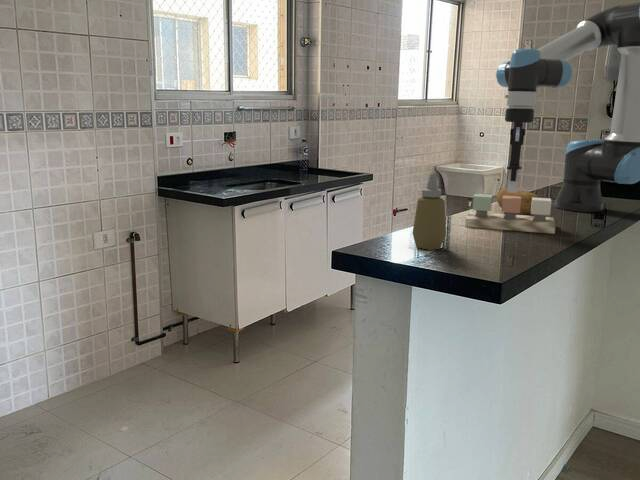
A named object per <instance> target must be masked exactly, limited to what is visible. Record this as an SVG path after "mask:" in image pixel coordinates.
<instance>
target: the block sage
mask: <svg viewBox="0 0 640 480" xmlns="http://www.w3.org/2000/svg"><path fill="white" fill-rule="evenodd" d="M492 204H493V194H483V193H475V194H473V199H472V210H473V211H475V212H476V217H487V213H488V212H491V210H492Z"/></svg>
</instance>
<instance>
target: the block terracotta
mask: <svg viewBox="0 0 640 480" xmlns="http://www.w3.org/2000/svg"><path fill="white" fill-rule="evenodd" d="M520 206H521V197H517V196H503V200H502V208H501V213H504V214H505V219H516V213H520Z"/></svg>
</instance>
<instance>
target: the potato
mask: <svg viewBox="0 0 640 480" xmlns="http://www.w3.org/2000/svg"><path fill="white" fill-rule="evenodd" d="M503 196H517V197H521V206H520V213H516V215H526V216H529V215H530V214H531V204H532V197H534V198H541V197H540V196H539V195H537V194H536V193H533V192H528V191H524V190H521V189H517V193H511V192H507V188H503V189H501V190H499V191H498V192H497V195H496V202H497V204H498V206H499V207H500V209H502V200H503Z"/></svg>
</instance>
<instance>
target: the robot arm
mask: <svg viewBox="0 0 640 480" xmlns="http://www.w3.org/2000/svg"><path fill="white" fill-rule="evenodd" d="M606 46H607V47H609V46H616V47H617V48H616V50H617V51H618V52H619V54H620V55H621V59H620V65H619V69H618V70H619V72H618V76H617V77H618V78H617V85H616V92H615V99H614V106H613V113H612V119H611V125H610V133H609V134H608V135H607V136H605V138H603V139H587V140H584V139H583V140H572V141H570V142H569V143H568V144H567V147H566V152H565V160H564V169H563V171H564V172H563V179H562V185H561V187H560V189H559V190H560V191H559V192H558V195H557V197H556V199H555V204H554V207H555V208H557V209H561V210H566V211H573V212H584V213H585V212H586V213H589V212H590V213H592V212H593V213H596V212H597V213H598V212H602V211H604V201H603V196H602V192H601V191H602V190H601V182H602V181H603V182H609V183H617V184H620V185H621V184H624V185H634V184H636V183H639V182H640V2H636V3H631V4H630V3H628V4H622V5H615V6H611V7H609V8H607V9H606V8H605V9H604V10H602V11H600V12H598V13H596V14H594V15H592V16H590V17H588V18H587V19H584V20H583V21H581V22H579V23H578V24H577V25H576V27H575V28H574V29H573V30H570V31H569V32H567V33H565V34H563V35H562V36H560V37H557V38H556V39H554V40H552V41H550V42H548V43H547V44H544V45H543V46H541V47H539V48H537V49H535V48H520V49H515V50H513V51H512V53H511V55H510V56H511V57H510V60H509V61H505V62H502V63H501V64H500V65H498V67H497V70H496V72H495V73H496V74H495V78H496V81H497V84H499V86H501V87H503V88H507V94H505V95H504V99H507V100H506V106H507V107H508V108H506V109H505V114H504V120H505V122H507V123H514V125H513V128H510V133H509V135H510V146H511V150H510V162H509V165H508V166H507V167H506V170H508V178H507V187H506V189H507V192H511V193H517V190H518V184H519V183H518V182H519V174H520V170H522V166H520V161H521V159H520V158H521V150H522V146H523V145H524V140H525V135H526V129H525V128H523V126H524V125H523V124H524V123H528V124H529V123H533V122H534V116H535V115H534V114H535V110H534V109H535V108H534V107H535V106H536V100H537V89H538V88H555V89H556V88H562V87H564V86H567V84H568V83H569V82H570V81H571V79H572V76H573V67H572V65H571V64H570V63H569V62H568V61H569V60H571V59H573V58H575V57H577V56H578V55H581V54H582V53H585V52H586V51H587V52H591V51H595V50H596V49H599V48H602V47H606ZM533 108H534V109H533Z"/></svg>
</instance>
